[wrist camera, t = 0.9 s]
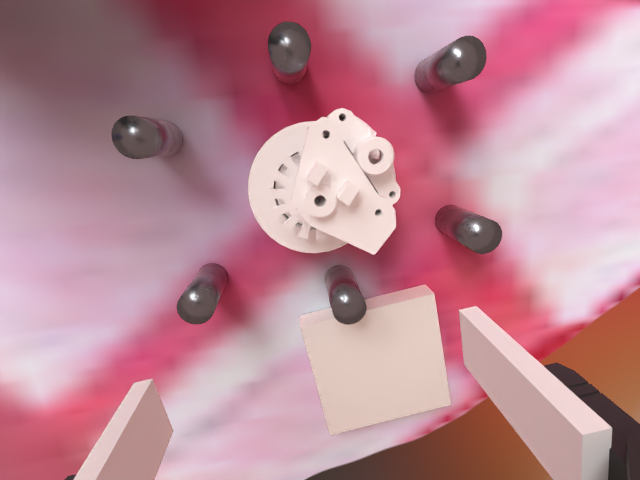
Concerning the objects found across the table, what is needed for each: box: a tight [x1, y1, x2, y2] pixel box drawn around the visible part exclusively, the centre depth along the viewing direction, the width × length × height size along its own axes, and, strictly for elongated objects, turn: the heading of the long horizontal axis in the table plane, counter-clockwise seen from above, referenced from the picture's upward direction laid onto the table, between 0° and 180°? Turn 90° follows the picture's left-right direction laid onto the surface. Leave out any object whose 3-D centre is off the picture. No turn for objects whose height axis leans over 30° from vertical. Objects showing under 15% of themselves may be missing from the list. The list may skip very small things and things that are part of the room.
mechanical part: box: [248, 108, 400, 255], centre depth 29 cm, size 11×12×12 cm
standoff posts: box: [112, 22, 502, 325], centre depth 31 cm, size 24×28×7 cm
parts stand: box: [300, 284, 451, 435], centre depth 39 cm, size 14×14×2 cm
